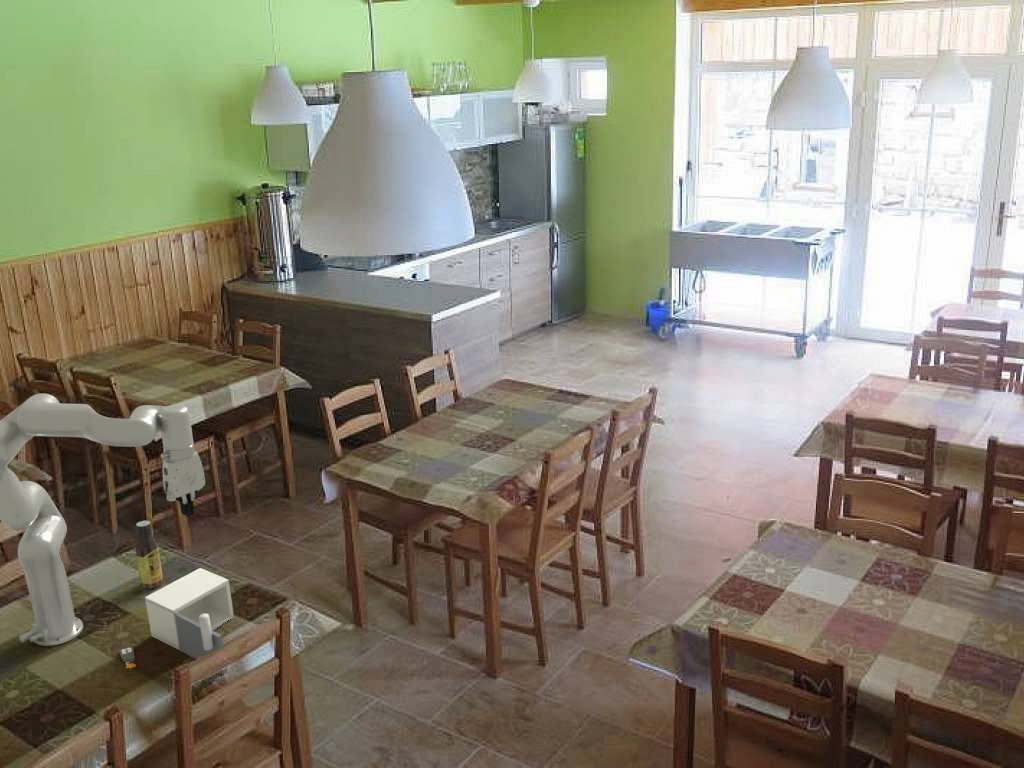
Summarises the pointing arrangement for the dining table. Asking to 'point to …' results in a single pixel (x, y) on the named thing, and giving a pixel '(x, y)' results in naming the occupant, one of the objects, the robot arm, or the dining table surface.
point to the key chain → (128, 656)
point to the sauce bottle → (148, 557)
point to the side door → (197, 636)
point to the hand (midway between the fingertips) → (188, 514)
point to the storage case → (189, 603)
